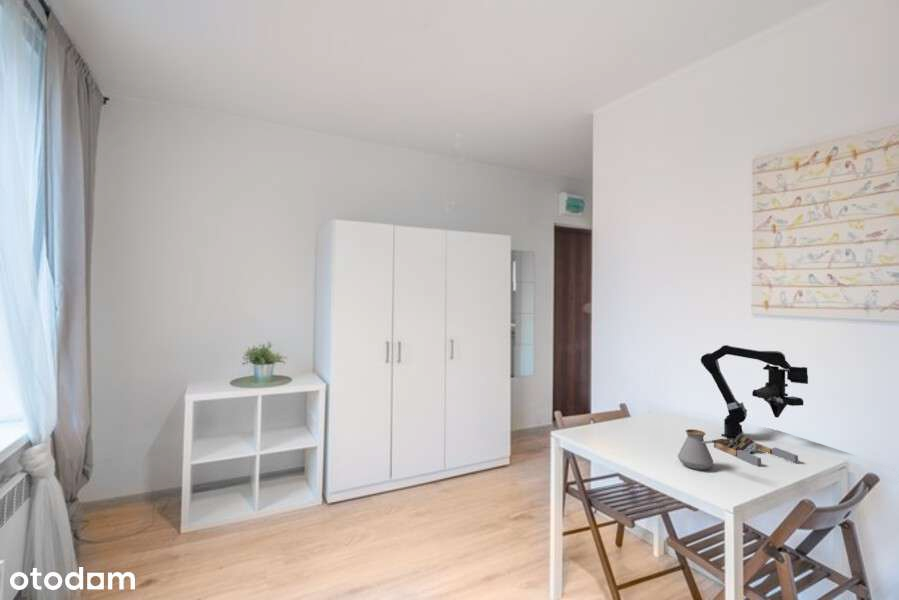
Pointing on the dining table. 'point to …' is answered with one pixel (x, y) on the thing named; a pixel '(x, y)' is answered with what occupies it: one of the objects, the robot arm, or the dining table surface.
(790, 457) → the bay
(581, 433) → the dining table surface
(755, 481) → the dining table surface
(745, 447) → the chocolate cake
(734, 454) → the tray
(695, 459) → the coffee pot
